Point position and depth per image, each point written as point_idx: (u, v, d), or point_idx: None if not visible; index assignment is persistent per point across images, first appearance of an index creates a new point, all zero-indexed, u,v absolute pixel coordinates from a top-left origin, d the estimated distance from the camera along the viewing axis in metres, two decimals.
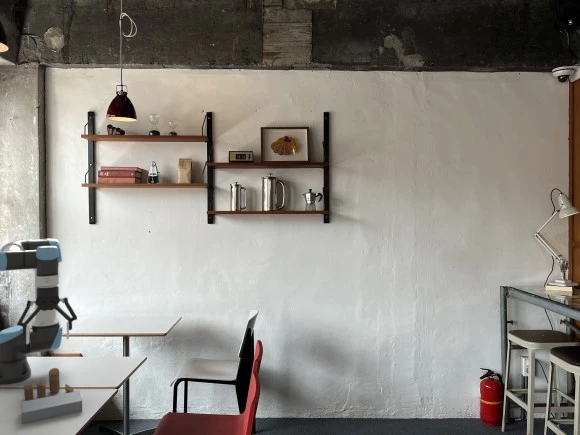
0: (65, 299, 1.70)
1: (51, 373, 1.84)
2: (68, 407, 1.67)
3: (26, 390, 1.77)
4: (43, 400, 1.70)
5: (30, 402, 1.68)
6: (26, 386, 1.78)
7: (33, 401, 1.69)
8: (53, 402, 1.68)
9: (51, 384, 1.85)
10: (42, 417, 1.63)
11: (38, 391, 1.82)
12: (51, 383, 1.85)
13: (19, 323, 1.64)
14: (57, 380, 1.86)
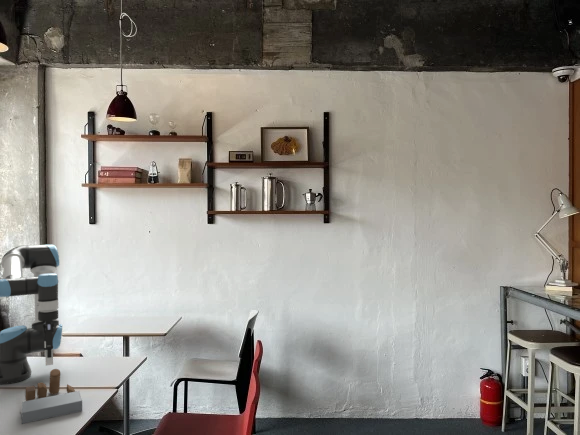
0: (45, 326, 1.79)
1: (53, 374, 1.82)
2: (68, 407, 1.67)
3: (29, 392, 1.75)
4: (43, 400, 1.70)
5: (30, 402, 1.68)
6: (28, 388, 1.76)
7: (33, 401, 1.69)
8: (53, 402, 1.68)
9: (52, 385, 1.84)
10: (42, 417, 1.63)
11: (40, 393, 1.80)
12: (52, 385, 1.84)
13: (44, 336, 1.92)
14: (58, 381, 1.85)
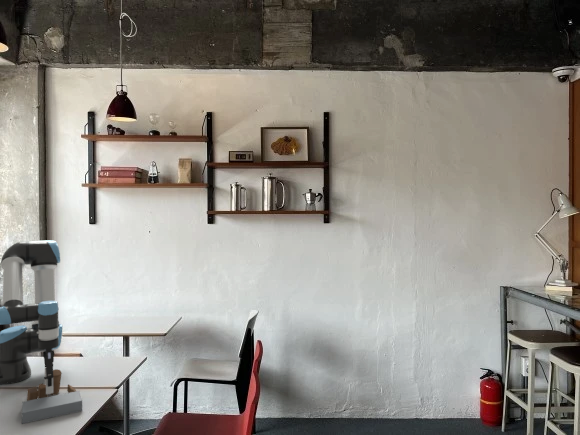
0: (45, 355, 1.79)
1: (54, 374, 1.82)
2: (68, 407, 1.67)
3: (32, 393, 1.74)
4: (43, 400, 1.70)
5: (30, 402, 1.68)
6: (30, 389, 1.75)
7: (33, 401, 1.69)
8: (53, 402, 1.68)
9: (53, 386, 1.83)
10: (42, 417, 1.63)
11: (41, 394, 1.79)
12: (53, 385, 1.83)
13: None
14: (59, 381, 1.84)
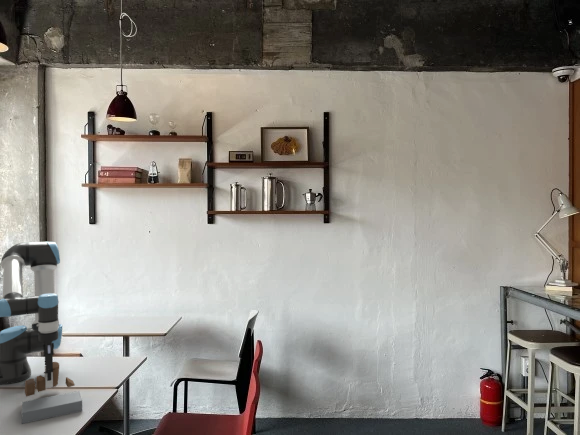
0: (45, 350, 1.79)
1: None
2: (68, 407, 1.67)
3: (29, 385, 1.76)
4: (43, 400, 1.70)
5: (30, 402, 1.68)
6: (28, 381, 1.77)
7: (33, 401, 1.69)
8: (53, 402, 1.68)
9: None
10: (42, 417, 1.63)
11: (39, 385, 1.81)
12: None
13: None
14: (57, 374, 1.86)
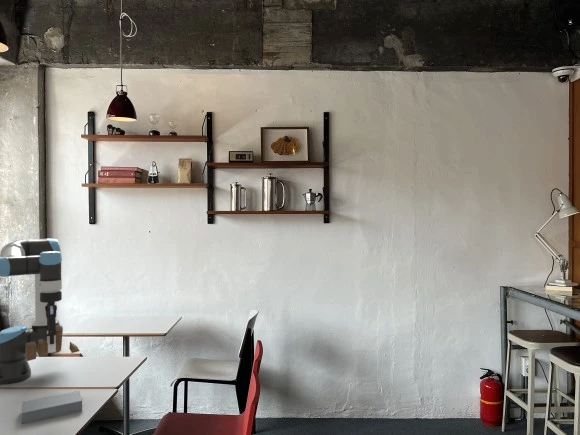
0: (47, 310, 1.64)
1: None
2: (68, 407, 1.67)
3: (30, 348, 1.60)
4: (43, 400, 1.70)
5: (30, 402, 1.68)
6: (29, 344, 1.61)
7: (33, 401, 1.69)
8: (53, 402, 1.68)
9: None
10: (42, 417, 1.63)
11: (41, 350, 1.65)
12: None
13: None
14: (61, 338, 1.70)
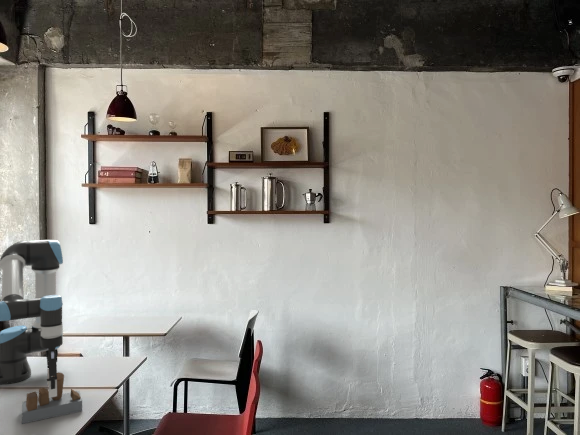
0: None
1: None
2: (68, 407, 1.67)
3: (31, 398, 1.59)
4: None
5: None
6: (30, 394, 1.60)
7: None
8: (53, 402, 1.68)
9: None
10: (42, 417, 1.63)
11: (42, 399, 1.64)
12: None
13: (47, 363, 1.76)
14: (62, 385, 1.69)
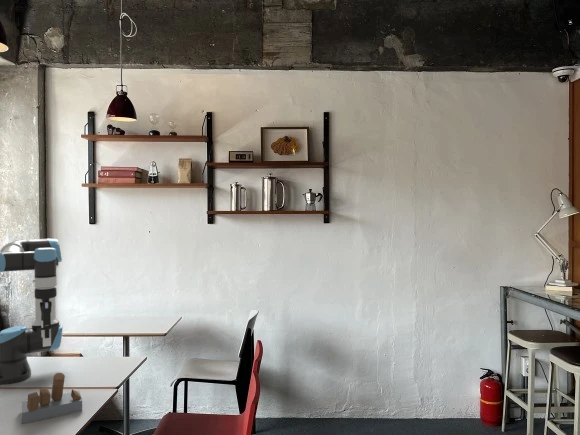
0: (42, 304, 1.65)
1: (57, 378, 1.66)
2: (68, 407, 1.67)
3: (32, 399, 1.58)
4: None
5: None
6: (31, 395, 1.59)
7: None
8: (53, 402, 1.68)
9: (56, 391, 1.68)
10: (42, 417, 1.63)
11: (43, 399, 1.63)
12: (56, 390, 1.68)
13: (41, 316, 1.78)
14: (62, 386, 1.69)
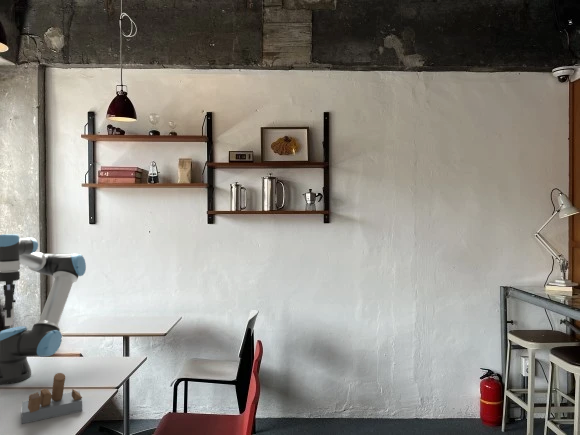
0: (4, 286, 1.76)
1: (58, 378, 1.66)
2: (68, 407, 1.67)
3: (34, 399, 1.58)
4: None
5: None
6: (32, 395, 1.59)
7: None
8: (53, 402, 1.68)
9: (56, 391, 1.67)
10: (42, 417, 1.63)
11: (44, 400, 1.63)
12: (57, 390, 1.67)
13: None
14: (63, 386, 1.69)
